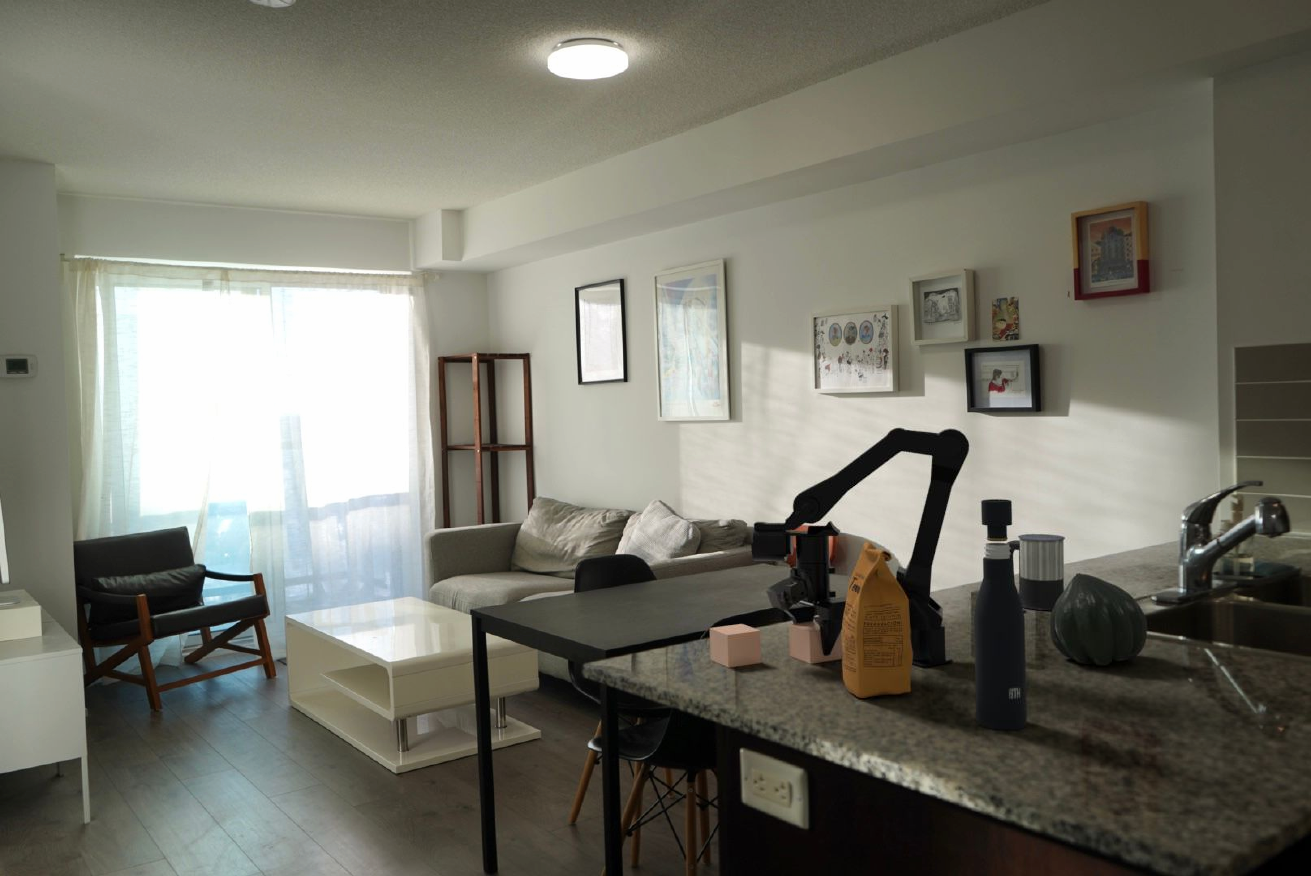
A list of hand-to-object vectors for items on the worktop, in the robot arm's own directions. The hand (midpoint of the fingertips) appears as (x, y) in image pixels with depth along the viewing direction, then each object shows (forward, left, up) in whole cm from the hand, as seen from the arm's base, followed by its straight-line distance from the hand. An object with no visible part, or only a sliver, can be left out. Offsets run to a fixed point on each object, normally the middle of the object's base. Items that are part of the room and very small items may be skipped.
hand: (815, 651), depth 174 cm
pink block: (+5, +13, -1) cm, 14 cm away
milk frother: (+11, -60, -1) cm, 61 cm away
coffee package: (-21, +3, -1) cm, 21 cm away
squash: (-26, -38, -1) cm, 46 cm away
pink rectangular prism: (0, 0, -1) cm, 1 cm away
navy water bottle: (-43, -1, -1) cm, 43 cm away
